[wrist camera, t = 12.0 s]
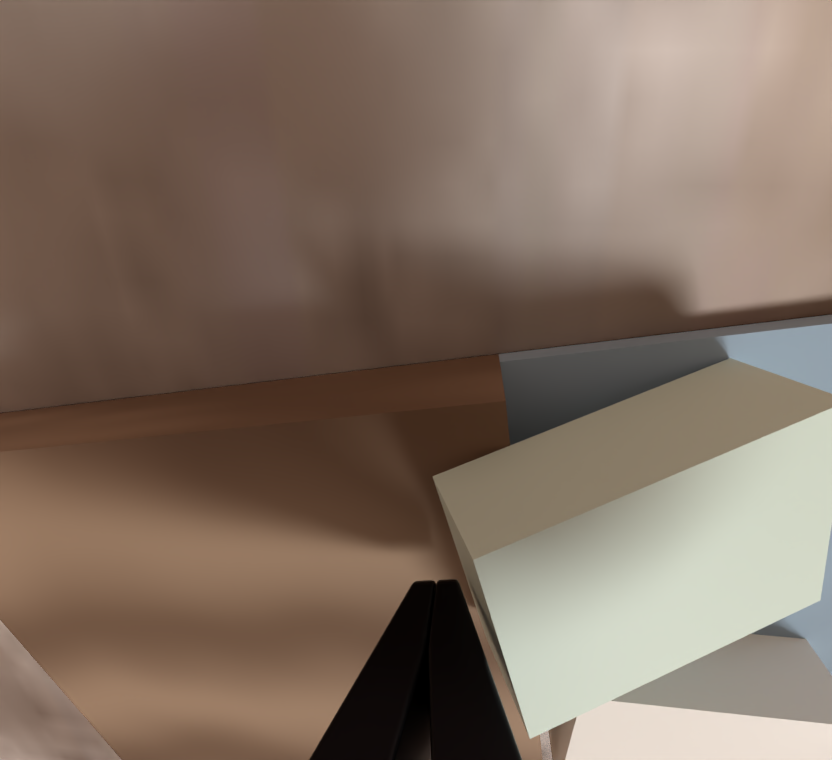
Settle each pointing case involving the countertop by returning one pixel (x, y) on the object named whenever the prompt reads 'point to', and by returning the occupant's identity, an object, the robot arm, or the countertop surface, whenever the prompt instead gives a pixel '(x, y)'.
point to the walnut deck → (236, 548)
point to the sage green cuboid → (644, 534)
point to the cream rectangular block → (715, 710)
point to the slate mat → (657, 365)
